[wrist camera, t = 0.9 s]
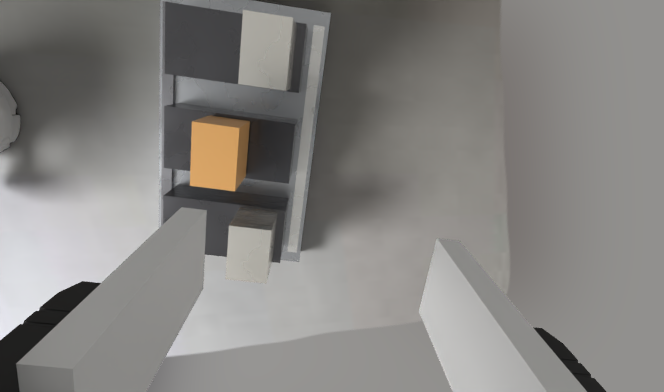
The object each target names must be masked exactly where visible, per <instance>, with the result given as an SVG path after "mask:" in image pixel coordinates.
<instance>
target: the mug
mask: <svg viewBox="0 0 664 392" xmlns="http://www.w3.org/2000/svg"><path fill="white" fill-rule="evenodd" d="M16 108H17V104H16V102H15V100H14V98H13V97H12V95H11V94H10V92H9V90H8V89H7V88H6V87H5V85H4V84H3V83H2V82H0V152H2V151H3V150H5V149H7V148H9V147H10V143H11V142H14V141H15V140H16V138H17V136H18V134H19V131H20V122H21V120H20V115H15V114H16V112H15V111H16Z"/></svg>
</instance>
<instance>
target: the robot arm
mask: <svg viewBox="0 0 664 392" xmlns="http://www.w3.org/2000/svg"><path fill="white" fill-rule="evenodd" d="M206 215H207V210H201V209H193V208H184V207H181V208H180V209H179V210H178V211H177V212H176V213H175V214H174V215H173V216H172V217H170V218H169V219H168V220H167V221H166V222H165V223H164V224H163V225H162V226H161V227H160V228H159V229H158V230H157V231H156V232H155V233H154V234H153V235H151V236H150V237H149V238H148V239H147V240H146V241H145V242H144V243H143V244H142V245H141V246H140V247H139V248H138V249H137V250H136V251H135V252H134V253H132V254H131V255H130V256H129V257H128V258H127V259H126V260H125V261H124V262H123V263H122V264H121V265H120V266H119V267H118V268H117V269H116V270H115V271H113V272H112V273H111V274H110V275H109V276H108V277H107V278H106V279H105V280H104V281H103V282H102V283H93V282H84V281H82V282H80V283H78V284H76V285H74V286H71V287H69V288H67V289H65V290H63V291H61V292H59V293H57V294H56V295H55V296H54V297H52V298H51V299H50V300H49V301H47V302H46V303H45V304H44V305H43V306H41V307H40V310H39V311H35V312H34V313H33V314H32V315H31V316H29V317H28V318H27V319H26V320H25V321H24V323H23V325H22V324H20V325H19V326H17V327H16V328H15V329H14V330H12V331H11V332H10V333H9V334H8V335H6V336H5V337H4V338H3V339H2V340H0V392H146V391H147V389H148V388H149V386H150V384H151V382H152V380H153V379H154V377H155V375H156V373H157V371H158V369H159V368H160V366H161V364H162V362H163V360H164V359H165V357H166V355H167V353H168V351H169V350H170V348H171V346H172V344H173V342H174V340H175V339H176V337H177V335H178V333H179V331H180V330H181V328H182V326H183V324H184V322H185V320H186V319H187V317H188V315H189V313H190V311H191V310H192V308H193V306H194V304H195V302H196V300H197V299H198V297H199V295H200V293H201V291H202V290H203V281H204V259H205V237H206ZM419 313H420V315H421V317H422V320H423V322H424V324H425V327H426V329H427V332H428V334H429V336H430V339H431V341H432V344H433V346H434V349H435V351H436V353H437V356H438V358H439V360H440V363H441V365H442V368H443V370H444V373H445V375H446V377H447V380H448V382H449V384H450V387H451V389H452V392H606V391H605V390H604V389H603V387H602V386H601V385H600V384H599V383H598V382H597V381H596V380H595V379H594V378H591V374H590V373H589V372H588V371H587V370H586V369H585V367H584V366H583V365H582V364H581V363H578V360H577V359H576V358H575V356H574V355H573V354H572V353H571V352H570V351H569V350H568V349H567V348H566V347H565V345H564V344H563V343H561V342H560V341H559V340H557V339H556V338H555V337H553V336H552V335H550V334H549V333H548V332H546V331H545V330H544V329H542V328H534V327H532V326H531V325H530V323H529V322H528V321H527V320H526V319H525V317H524V316H523V315H522V314H521V313H520V312H519V310H518V309H517V308H516V307H515V306H514V304H513V303H512V302H511V301H510V300H509V299H508V297H507V296H506V295H505V294H504V293H503V291H502V290H501V289H500V288H499V287H498V285H497V284H496V283H495V282H494V281H493V279H492V278H491V277H490V276H489V275H488V274H487V272H486V271H485V270H484V269H483V268H482V266H481V265H480V264H479V263H478V262H477V261H476V259H475V258H474V257H473V256H472V255H471V253H470V252H469V251H468V250H467V249H466V247H465V246H464V245H463V244H462V243H461V242H460V241H457V240H449V239H441V238H437V239H436V243H435V248H434V252H433V256H432V260H431V264H430V268H429V272H428V276H427V280H426V285H425V289H424V293H423V297H422V301H421V305H420V309H419Z"/></svg>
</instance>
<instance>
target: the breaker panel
mask: <svg viewBox="0 0 664 392" xmlns="http://www.w3.org/2000/svg"><path fill="white" fill-rule="evenodd" d="M330 16H331V13H328V12H322V11H316V10H309V9H303V8H297V7H291V6H284V5H278V4H272V3H266V2H259V1H253V0H160V109H159V228H160V227H161V226H162V225H163V224H164V223H165V222H166V221H167V220H168V219H169V218H170V217H172V216H173V215H174V214H175V213H176V212H177V211H178V210H179V209H180V208H181V207H184V208H193V209H201V210H207V215H206V237H205V254H207V255H215V256H224V257H227V263H226V279H228V280H238V281H247V282H256V283H265V284H266V283H267V279H268V275H269V271H270V267H271V263H272V262H278V263H280V260H287V261H296V262H299V258H300V250H301V243H302V235H303V227H304V219H305V211H306V203H307V196H308V188H309V180H310V172H311V164H312V157H313V149H314V141H315V133H316V125H317V118H318V110H319V102H320V94H321V86H322V78H323V71H324V63H325V55H326V47H327V39H328V32H329V24H330ZM206 116H217V117H224V118H231V119H238V120H246V121H250V127H249V140H248V153H247V166H246V177H245V178H244V180H243V181H242V183H241V184H240V185H239V187H238V188H237V189H236V191H228V190H220V189H212V188H204V187H196V186H190V166H191V133H192V121H195V120H197V119H200V118H203V117H206Z"/></svg>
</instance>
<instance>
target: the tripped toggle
mask: <svg viewBox="0 0 664 392" xmlns="http://www.w3.org/2000/svg"><path fill="white" fill-rule="evenodd" d="M249 127H250V121H246V120H238V119H231V118H224V117H217V116H206V117H203V118H200V119H197V120H195V121H192V133H191V166H190V186H196V187H204V188H212V189H220V190H228V191H236V189H237V188H238V187H239V185H240V184H241V183H242V181H243V180H244V178H245V177H246V166H247V153H248V140H249Z"/></svg>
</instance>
